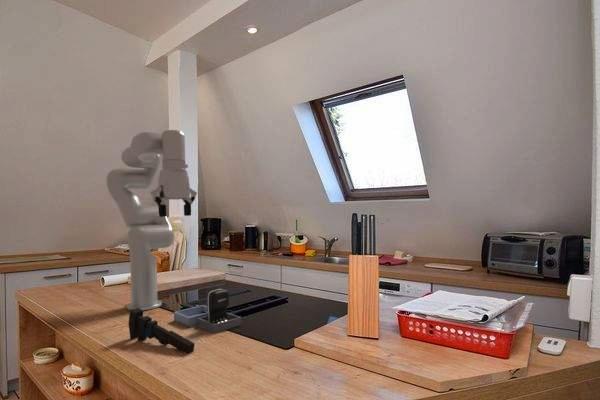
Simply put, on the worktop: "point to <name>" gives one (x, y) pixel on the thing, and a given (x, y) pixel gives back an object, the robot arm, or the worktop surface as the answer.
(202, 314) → the parts tray
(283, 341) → the worktop surface
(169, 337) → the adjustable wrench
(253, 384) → the worktop surface
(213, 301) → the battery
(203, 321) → the socket frame
